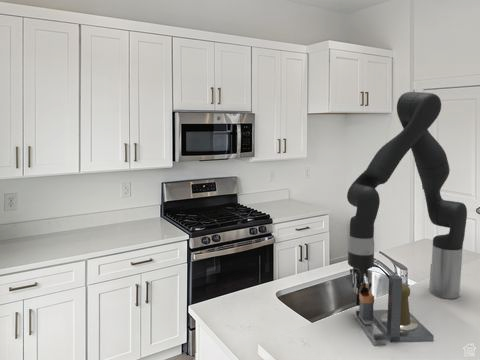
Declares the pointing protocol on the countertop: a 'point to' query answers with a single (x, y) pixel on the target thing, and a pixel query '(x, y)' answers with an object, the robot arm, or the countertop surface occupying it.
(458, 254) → the robot arm
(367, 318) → the lever
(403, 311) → the cork
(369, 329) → the lever rail
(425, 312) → the countertop surface
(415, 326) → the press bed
